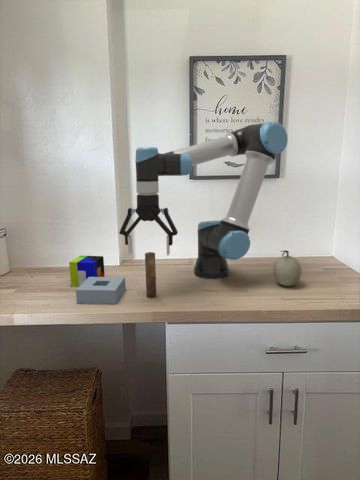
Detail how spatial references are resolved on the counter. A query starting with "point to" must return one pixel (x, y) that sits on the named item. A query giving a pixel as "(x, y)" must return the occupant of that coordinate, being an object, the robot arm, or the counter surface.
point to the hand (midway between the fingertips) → (149, 254)
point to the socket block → (101, 290)
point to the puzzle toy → (86, 268)
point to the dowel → (150, 274)
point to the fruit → (287, 270)
